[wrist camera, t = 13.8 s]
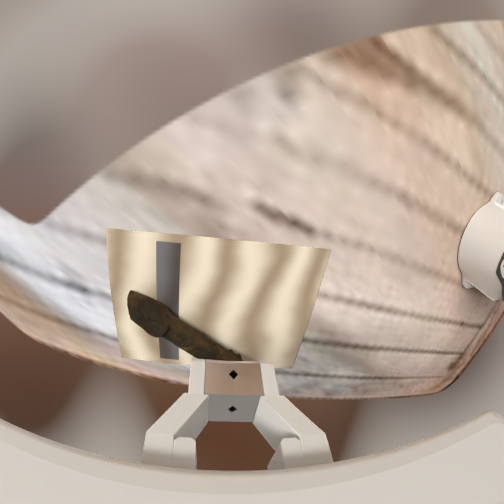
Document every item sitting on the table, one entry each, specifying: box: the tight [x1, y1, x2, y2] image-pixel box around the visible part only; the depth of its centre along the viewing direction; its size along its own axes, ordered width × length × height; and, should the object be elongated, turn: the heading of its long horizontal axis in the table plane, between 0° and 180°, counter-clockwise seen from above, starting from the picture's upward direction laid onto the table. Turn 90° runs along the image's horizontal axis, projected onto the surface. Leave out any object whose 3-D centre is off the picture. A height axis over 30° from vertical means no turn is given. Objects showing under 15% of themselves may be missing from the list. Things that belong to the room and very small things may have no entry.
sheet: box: [106, 228, 330, 368], centre depth 39 cm, size 28×22×1 cm
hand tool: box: [127, 290, 243, 363], centre depth 37 cm, size 19×4×5 cm, turn 41°
